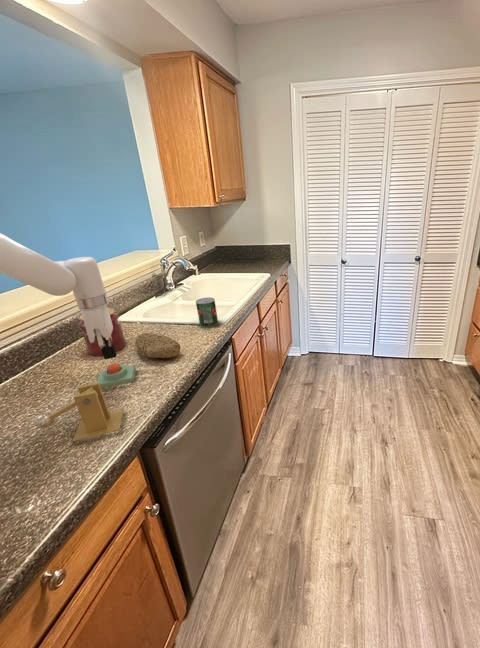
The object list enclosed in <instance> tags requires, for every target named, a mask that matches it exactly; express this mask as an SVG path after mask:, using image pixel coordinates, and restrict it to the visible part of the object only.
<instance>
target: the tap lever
mask: <svg viewBox="0 0 480 648" xmlns="http://www.w3.org/2000/svg"><path fill="white" fill-rule="evenodd" d="M92 391H95V390H94V389H93V388H92V387H91V388H89V389H87V390H86V391H84V392H82V393H81V394H83V393H87V392H92ZM96 393H97V392H96ZM97 396H98V393H97ZM75 407H77V405H76V402H75V400H73V401H72V402H70V403H68V404H66V405H65V406H63V407H61V408H59V409H58V410H56V411H54V412H52V413H51V412H43V413H41V414H39V415H38V416H37V417H36V419H35V425H36V426H37V427H38V428H40V429H48V428H50V427H52V426H53V425H54V423H55V421H56V418H58V417H60V416H61V415H63V414H65V413H67V412H68V411H70V410H72V409H74V408H75Z"/></svg>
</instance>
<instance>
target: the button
mask: <svg viewBox="0 0 480 648" xmlns="http://www.w3.org/2000/svg"><path fill="white" fill-rule="evenodd" d="M120 365H121V364H120V363H118V362H117V363H116V362H115V363H111V364H109V365H108V366H107V367H106V369H107V371H108V373H109V374H113V373H116V372H119V371H120V370H121V367H120Z"/></svg>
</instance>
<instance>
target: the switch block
mask: <svg viewBox="0 0 480 648" xmlns="http://www.w3.org/2000/svg"><path fill="white" fill-rule="evenodd" d="M120 367H121V370H120V371H119V372H116V373H113V374H109V373H108V371H107V368H105V369H104V370H102V371H100V373H99V376H98V378H97V381H96V383H97V382H99V384H100V387H101V389H104V388H108V387H113V386H118V385H122V384H127V383H132V382H134V380H135V378H136V373H137V370H136V366H135V365H129V366H127V365H125V364H120Z"/></svg>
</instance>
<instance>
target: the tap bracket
mask: <svg viewBox="0 0 480 648" xmlns="http://www.w3.org/2000/svg"><path fill="white" fill-rule="evenodd" d="M91 387H92V388H93V389H94V390H95V391H92V392H87V393H83V394H81V393H82V392H84V391H86V390H87V389H89V388H91ZM77 390H78V392H79V394H74V396H73V401H75V402H76V405H77V406H76V407H77V411H78V412H79V416H80V418H81V420H80V421H79V424H78V426H77V428H76V431H75V434H74V436H73V439H72V442H78V441H81V440H85V439H90V438H95V437H97V436H101V435H105V434H110V433H113V432H118V431H120V429H121V424H122V419H123V415H124V409H123V410H122V409H121V410H117V411H114V412H113V411H112V412H110V410H109V407H108V404H107V402H106V399H105V398H106V397H105V395H104V392H103V390H102V388H101V387H100V384H99V382H97V381H96V382H92V383H88V384H83V385H79V386H78V388H77ZM96 392H97V393H98V396H97V393H96Z"/></svg>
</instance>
